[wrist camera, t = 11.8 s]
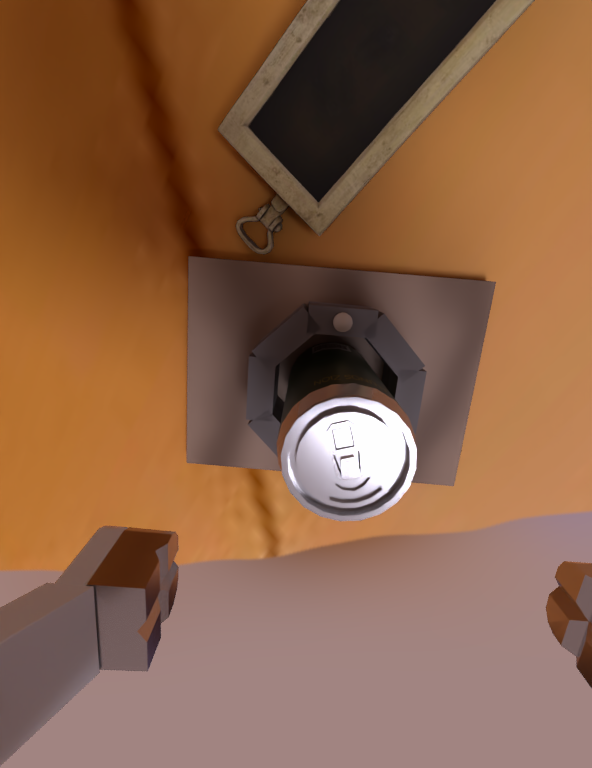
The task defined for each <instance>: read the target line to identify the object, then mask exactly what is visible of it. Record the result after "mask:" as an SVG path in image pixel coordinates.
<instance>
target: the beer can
mask: <svg viewBox="0 0 592 768" xmlns="http://www.w3.org/2000/svg"><path fill="white" fill-rule="evenodd" d="M277 455H278V464H279V466H280V469H281V471H282V475H283V477H284V480H285V482H286V484H287V486H288V489H289V491H290V493H291V494H292V495H293V496H294V497H295V498H296V499H297V500H298V501H299V502H300V503H301V505H302V506H303V507H305V508H307V509H308V510H310V511H312V512H314V513H315V514H317V515H319V516H321V517H325V518H329V519H333V520H337V521H357V520H363V519H366V518H369V517H373V516H376V515H379V514H381V513H382V512H384V511H385V510H387V509H388V508H390V507H391V506H393V505H394V504H396V503H397V502H398V501H399V499H400V498H401V497H402V496H403V494H404V493H405V492H406V491H407V489H408V488H409V487H410V484H411V481H412V479H413V476H414V473H415V470H416V446H415V434H414V431H413V429H412V426H411V423H410V420H409V417H408V416H407V414H406V413H405V412H404V410H403V409H402V408H401V406H400V405H399V404H398V402H397V401H396V400H395V398H394V397H393V396H392V395H391V393H390V392H389V391H388V389H387V388H386V387H385V385H384V384H383V383H382V381H381V380H380V379H379V377H378V376H377V375H376V373H375V372H374V371H373V369H372V368H371V367H370V365H369V364H368V363H367V361H366V360H365V359H364V358H363V356H362V355H361V354H360V353H359V352H358V351H356V350H355V349H353V348H352V347H350V346H348V345H345V344H341V343H337V342H328V343H320V344H318V345H315V346H313V347H310V348H308V349H307V350H306V351H305V352H303V353H302V354H301V355H300V356H299V357H298V359H297V360H296V362H295V363H294V365H293V366H292V369H291V373H290V377H289V381H288V386H287V392H286V397H285V402H284V407H283V412H282V418H281V423H280V428H279V433H278V438H277Z"/></svg>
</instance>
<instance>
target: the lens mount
mask: <svg viewBox="0 0 592 768" xmlns="http://www.w3.org/2000/svg"><path fill="white" fill-rule="evenodd" d="M495 284H496V282H490V281H478V280H466V279H454V278H442V277H430V276H418V275H407V274H395V273H383V272H371V271H359V270H347V269H335V268H323V267H311V266H299V265H287V264H275V263H263V262H251V261H239V260H227V259H215V258H203V257H191V256H189V259H188V371H187V463H196V464H207V465H219V466H230V467H242V468H253V469H264V470H276V471H281V469H280V466H279V464H278V455H277V438H278V433H279V428H280V423H281V418H282V412H283V407H284V402H285V397H286V392H287V386H288V381H289V377H290V373H291V369H292V366H293V365H294V363H295V362H296V360H297V359H298V357H299V356H300V355H301V354H302V353H303V352H305V351H306V350H307V349H308V348H310V347H313V346H315V345H318V344H320V343H328V342H337V343H341V344H345V345H348V346H350V347H352V348H353V349H355V350H356V351H358V352H359V353H360V354H361V355H362V356H363V358H364V359H365V360H366V361H367V363H368V364H369V365H370V367H371V368H372V369H373V371H374V372H375V373H376V375H377V376H378V377H379V379H380V380H381V381H382V383H383V384H384V385H385V387H386V388H387V389H388V391H389V392H390V393H391V395H392V396H393V397H394V398H395V400H396V401H397V402H398V404H399V405H400V406H401V408H402V409H403V410H404V412H405V413H406V414H407V416H408V417H409V420H410V423H411V426H412V429H413V431H414V434H415V446H416V470H415V473H414V476H413V479H412V481H411V482H413V483H425V484H436V485H448V486H454V482H455V477H456V473H457V468H458V463H459V458H460V453H461V448H462V444H463V439H464V434H465V429H466V424H467V419H468V415H469V410H470V405H471V400H472V395H473V390H474V386H475V381H476V376H477V371H478V366H479V362H480V357H481V352H482V347H483V342H484V337H485V333H486V328H487V323H488V318H489V313H490V308H491V304H492V299H493V294H494V289H495Z"/></svg>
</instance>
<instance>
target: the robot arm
mask: <svg viewBox="0 0 592 768" xmlns="http://www.w3.org/2000/svg"><path fill="white" fill-rule="evenodd" d="M177 551H178V535H177V533H176V532H171V531H161V530H151V529H141V528H131V527H129V528H127V527H117V526H103V527H101V528H99V529H98V530H97V532H96V533H95V534H94V535H93V536H92V538H91V539H90V540H89V541H88V543H87V544H86V545H85V546H84V548H83V549H82V550H81V551H80V553H79V554H78V555H77V556H76V558H75V559H74V560H73V561H72V563H71V564H70V565H69V566H68V568H67V569H66V570H65V571H64V572H63V574H62V575H61V576H60V577H59V579H58V580H57V581H56V582H55V584H54V583H46V584H44V585H42V586H40V587H38V588H36V589H34V590H33V591H31V592H29V593H27V594H25V595H23V596H21V597H19V598H17V599H16V600H14V601H12V602H10V603H8V604H6V605H5V606H2V607H1V608H0V766H1V765H2V764H3V763H4V762H5V761H6V760H7V759H8V758H9V757H10V756H12V755H13V754H14V753H15V752H16V751H17V750H18V749H19V748H20V747H21V746H22V745H23V744H24V743H25V742H26V741H28V740H29V739H30V738H31V737H32V736H33V735H34V734H35V733H36V732H37V731H38V730H39V729H40V728H41V727H42V726H44V725H45V724H46V723H47V721H49V720H50V719H51V718H52V717H53V716H54V715H55V714H56V713H57V712H58V711H59V710H61V708H63V707H64V706H65V705H66V704H67V703H68V702H69V701H70V700H71V699H72V698H73V697H74V696H75V695H76V694H77V693H78V692H79V691H81V690H82V689H83V688H84V687H85V686H86V685H87V684H88V683H89V682H90V681H91V680H92V679H93V678H95V676H97V675H98V674H99V673H100V669H101V670H126V671H148V669H149V667H150V664H151V662H152V659H153V656H154V654H155V651H156V648H157V646H158V644H159V641H160V638H161V623H162V622H163V621H164V620H166V619H167V618H168V617H169V615H170V612H171V609H172V606H173V604H174V599H175V595H176V591H177V584H178V566H177V565H176V563H175V562H174V561H173V560H174V558H175V556H176V553H177ZM555 578H556V580H557V582H558V585H559V587H558V588H556V589H555V590H554V591H553V592H551V593H550V594H549V597H548V601H547V605H546V611H547V618H548V623H549V625H550V628H551V630H552V633H553V634H554V636H555V637H556V639H557V640H558V642H559V643H560V644H561V646H563V647H564V648H565V649H567V650H568V651H569V652H571V653H572V654H574V655H575V656H576V661H577V662H576V664H577V665H576V666H577V669H578V670H579V671H580V673H581V674H582V675H583V677H584V678H585V680H586V681H587V683H588V684H589V685H590V687H591V688H592V563H581V562H567V561H564V562H563V563H562V564H561V565H560V566H559V567H558V569H557V572H556V575H555Z"/></svg>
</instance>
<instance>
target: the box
mask: <svg viewBox="0 0 592 768" xmlns="http://www.w3.org/2000/svg"><path fill="white" fill-rule="evenodd" d="M534 1H535V0H307V2H306V3H305V4H304V6H303V7H302V9H301V10H300V11H299V13H298V14H297V16H296V17H295V18H294V20H293V21H292V23H291V24H290V26H289V27H288V28H287V30H286V31H285V33H284V34H283V36H282V37H281V38H280V40H279V41H278V43H277V44H276V46H275V47H274V49H273V50H272V51H271V53H270V54H269V56H268V57H267V59H266V60H265V62H264V63H263V64H262V66H261V67H260V69H259V70H258V72H257V73H256V74H255V76H254V77H253V79H252V80H251V82H250V83H249V84H248V86H247V87H246V89H245V90H244V91H243V93H242V94H241V96H240V97H239V98H238V100H237V101H236V103H235V104H234V106H233V107H232V108H231V110H230V111H229V113H228V114H227V115H226V117H225V118H224V120H223V122H222V123H221V125H220V126H219V128H218V131H219V132H220V133H221V134H222V135H223V137H224V138H225V139H226V140H227V141H228V142H229V143H230V144H231V145H232V146H233V147H234V148H235V149H236V150H237V152H238V153H239V154H240V155H241V156H242V157H243V158H244V159H245V160H246V161H247V162H248V163H249V164H250V165H251V166H252V167H253V169H254V170H255V171H256V172H257V173H258V174H259V175H260V176H261V177H262V178H263V179H264V180H265V181H266V182H267V183H268V184H269V185H270V186H271V187H272V188H273V189H274V191H275V192H276V193H277V195H276V196H275V197H274V199H273V200H272V202H271V203H272V205H271V206H270V205H269V203H268V204H266V205H265V206H264V207H263V208H262V207H260V208H259V209H258V210H259V213H258V214H257V216H252V217H243V218H241V219H239V220H237V224H236V229H237V232H238V234H239V236H240V237H241V238H242V240H243V241H244V242H245V243H246V244H247V245H248V246H249V247H250V248H251V249H252V250H253V251H255V252H256V253H259V254H267V253H269V252H271V250H272V249H273V247H274V242H273V232H274V231H275V232H278V231H280V230H282V224H281V223H282V221H283V219H282V217H281V215H282V214H283V213H284V212H285V210H286V209H287V208H288V207H289V206H290V207H291V208H292V209H293V210H294V211H295V212H296V213H297V214H298V215H299V216H300V217H301V218H302V219H303V220H304V221H305V222H306V223H307V224H308V225H309V226H310V227H311V228H312V230H313V231H314V232H315V233H316V234H317V235H318V236H320V235H322V233H323V232H324V231H325V230H326V229H327V228H328V227H329V226H330V224H331V223H332V222H333V221H334V220H335V219H336V218H337V217H338V215H339V214H340V213H341V212H342V211H343V210H344V209H345V208H346V206H347V205H348V204H349V203H350V202H351V201H352V200H353V199H354V198H355V196H356V195H357V194H358V193H359V192H360V191H361V190H362V189H363V188H364V186H365V185H366V184H367V183H368V182H369V181H370V180H371V179H372V178H373V177H374V175H375V174H376V173H377V172H378V171H379V170H380V169H381V168H382V167H383V166H384V164H385V163H386V162H387V161H388V160H389V159H390V158H391V157H392V155H393V154H394V153H395V152H396V151H397V150H398V149H399V148H400V147H401V145H402V144H403V143H404V142H405V141H406V140H407V139H408V138H409V137H410V136H411V135H412V133H413V132H414V131H415V130H416V129H417V128H418V127H419V126H420V125H421V124H422V123H423V121H424V120H425V119H426V118H427V117H428V116H429V115H430V114H431V113H432V112H433V111H434V109H435V108H436V107H437V106H438V105H439V104H440V103H441V102H442V101H443V100H444V98H445V97H446V96H447V95H448V94H449V93H450V92H451V91H452V90H453V89H454V88H455V87H456V85H457V84H458V83H459V82H460V81H461V80H462V79H463V78H464V77H465V76H466V75H467V74H468V72H469V71H470V70H471V69H472V68H473V67H474V66H475V65H476V64H477V63H478V62H479V61H480V59H481V58H482V57H483V56H484V55H485V54H486V53H487V52H488V51H489V50H490V49H491V48H492V46H493V45H494V44H495V43H496V42H497V41H498V40H499V39H500V38H501V37H502V35H503V34H504V33H505V32H506V31H507V30H508V29H509V28H510V27H511V26H512V25H513V24H514V22H515V21H516V20H517V19H518V18H519V17H520V16H521V15H522V14H523V13H524V12H525V10H526V9H527V8H528V7H529V6H530V5H531V4H532V3H533V2H534ZM258 221H260V222H261V223H262V224H263V225H264V226H265V227H266V228H267V229H268V233H267V236H268V246H267V247H266V248H265V249H261V248H259V247H258V246H257V245H256V244H255V243H254V242H253V241H252V240H251V239H250V238H249V237H248V236H247V234H246V233H245V231H244V230H243V223H246V222H258Z"/></svg>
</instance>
